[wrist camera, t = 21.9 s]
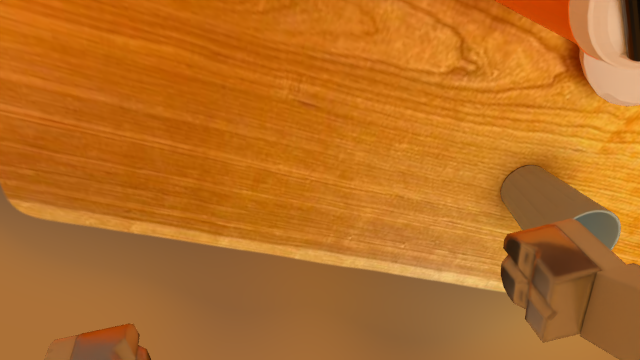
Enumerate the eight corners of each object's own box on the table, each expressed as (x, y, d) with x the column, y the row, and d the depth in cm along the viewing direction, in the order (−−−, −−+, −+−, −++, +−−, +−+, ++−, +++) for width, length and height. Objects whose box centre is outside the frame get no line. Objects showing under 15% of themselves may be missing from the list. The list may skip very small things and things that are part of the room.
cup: (487, 170, 52) (544, 228, 44) (554, 145, 52) (624, 199, 44) (493, 222, 56) (546, 284, 48) (554, 199, 57) (618, 257, 48)
